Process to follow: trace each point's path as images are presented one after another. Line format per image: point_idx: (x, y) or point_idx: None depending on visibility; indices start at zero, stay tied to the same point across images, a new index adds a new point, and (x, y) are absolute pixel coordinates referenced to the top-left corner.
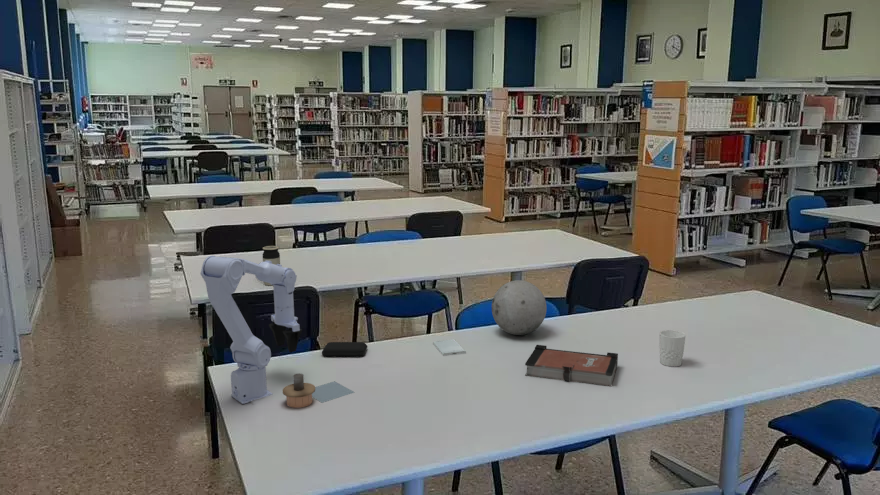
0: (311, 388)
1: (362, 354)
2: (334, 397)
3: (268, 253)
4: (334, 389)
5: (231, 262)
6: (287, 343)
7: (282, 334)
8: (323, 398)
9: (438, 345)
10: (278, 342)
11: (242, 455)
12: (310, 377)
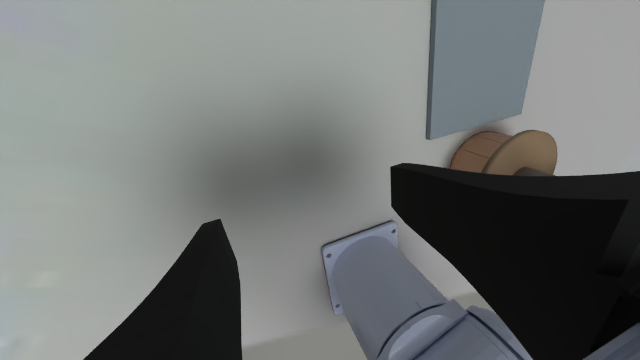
0: (544, 146)
1: None
2: (526, 65)
3: None
4: (490, 34)
5: None
6: (449, 253)
7: (211, 298)
8: (508, 99)
9: None
10: (237, 278)
11: None
12: (325, 61)
